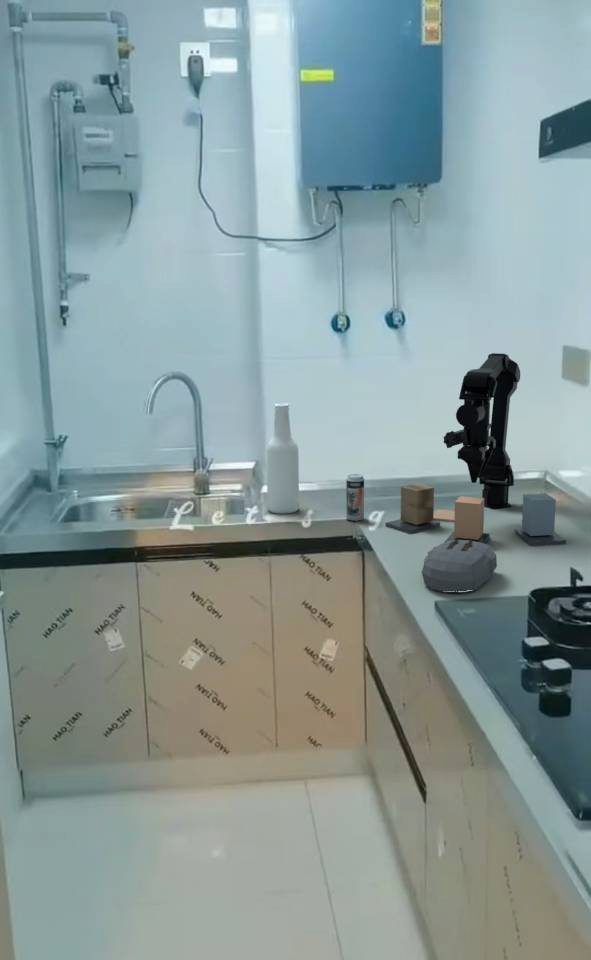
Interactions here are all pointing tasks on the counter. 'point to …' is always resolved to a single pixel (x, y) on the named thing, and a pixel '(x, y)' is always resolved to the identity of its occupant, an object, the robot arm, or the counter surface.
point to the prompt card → (444, 515)
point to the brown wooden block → (417, 503)
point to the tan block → (469, 517)
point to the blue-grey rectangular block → (538, 514)
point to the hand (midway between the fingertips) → (476, 480)
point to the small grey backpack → (458, 565)
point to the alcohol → (282, 465)
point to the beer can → (355, 497)
